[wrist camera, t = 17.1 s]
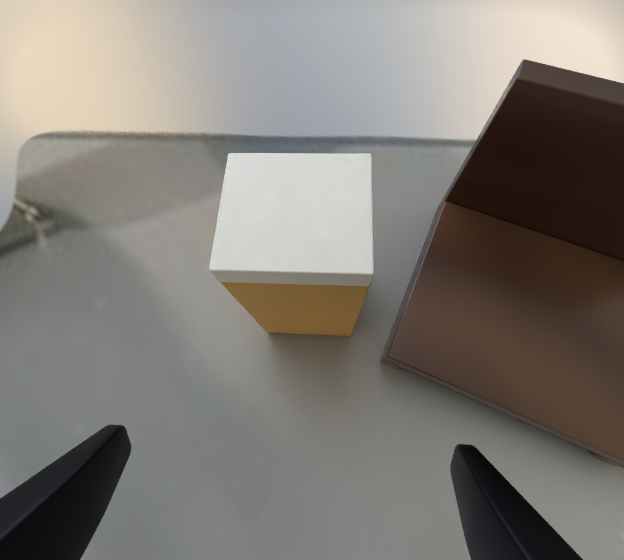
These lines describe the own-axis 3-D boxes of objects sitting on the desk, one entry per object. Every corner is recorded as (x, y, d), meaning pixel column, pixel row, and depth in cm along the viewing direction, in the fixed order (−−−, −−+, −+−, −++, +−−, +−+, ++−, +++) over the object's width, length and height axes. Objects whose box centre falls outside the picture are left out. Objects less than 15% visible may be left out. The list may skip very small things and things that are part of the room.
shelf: (612, 464, 14) (1009, 558, 6) (379, 361, 16) (433, 322, 8) (638, 274, 17) (931, 156, 9) (438, 205, 19) (523, 57, 11)
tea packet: (351, 336, 17) (374, 274, 9) (266, 332, 17) (208, 270, 9) (351, 265, 18) (371, 152, 10) (273, 263, 19) (228, 152, 10)
